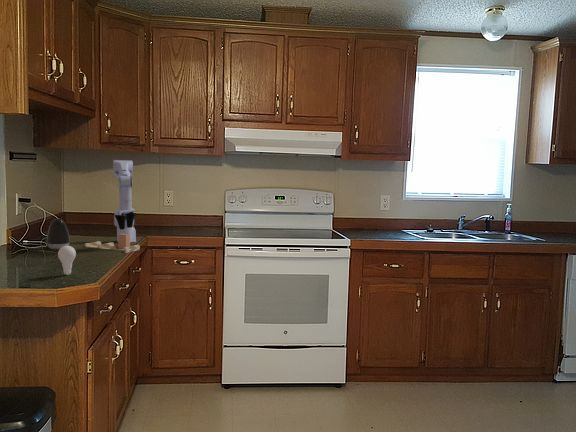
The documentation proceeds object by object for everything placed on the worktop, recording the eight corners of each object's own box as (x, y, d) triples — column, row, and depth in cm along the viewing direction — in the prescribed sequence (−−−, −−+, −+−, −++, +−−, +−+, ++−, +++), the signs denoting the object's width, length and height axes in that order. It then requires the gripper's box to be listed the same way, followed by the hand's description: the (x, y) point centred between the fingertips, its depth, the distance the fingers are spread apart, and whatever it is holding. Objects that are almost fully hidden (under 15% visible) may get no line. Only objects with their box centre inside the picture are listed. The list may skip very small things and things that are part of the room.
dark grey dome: (46, 252, 235) (45, 219, 234) (47, 248, 245) (46, 217, 243) (69, 251, 239) (69, 219, 238) (70, 247, 249) (69, 217, 247)
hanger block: (122, 247, 245) (122, 233, 245) (130, 248, 245) (130, 233, 244) (118, 248, 241) (118, 234, 241) (126, 249, 241) (125, 234, 240)
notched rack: (99, 246, 255) (99, 241, 255) (139, 249, 246) (139, 244, 246) (84, 248, 246) (84, 243, 246) (125, 252, 237) (125, 247, 236)
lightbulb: (75, 272, 191) (74, 244, 190) (77, 275, 186) (76, 246, 185) (57, 274, 189) (57, 245, 188) (59, 277, 183) (58, 247, 182)
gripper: (125, 199, 252) (125, 226, 254) (110, 201, 238) (110, 229, 240) (138, 199, 251) (138, 226, 253) (124, 201, 237) (124, 230, 239)
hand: (125, 228), depth 246 cm, fingers open, 7 cm apart
